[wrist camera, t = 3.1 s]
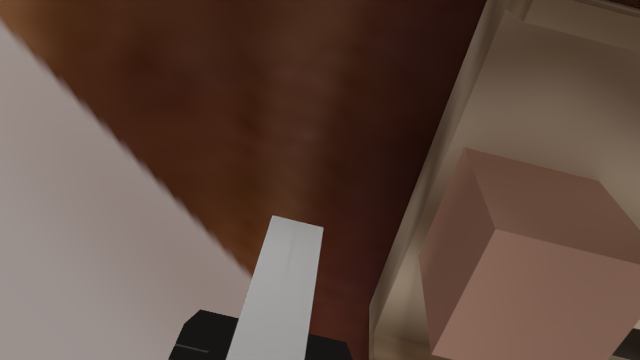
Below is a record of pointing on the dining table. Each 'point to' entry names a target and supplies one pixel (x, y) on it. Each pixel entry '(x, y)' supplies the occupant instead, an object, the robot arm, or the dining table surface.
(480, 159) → the terracotta block
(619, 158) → the tray
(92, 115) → the dining table surface
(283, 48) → the dining table surface
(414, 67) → the dining table surface
